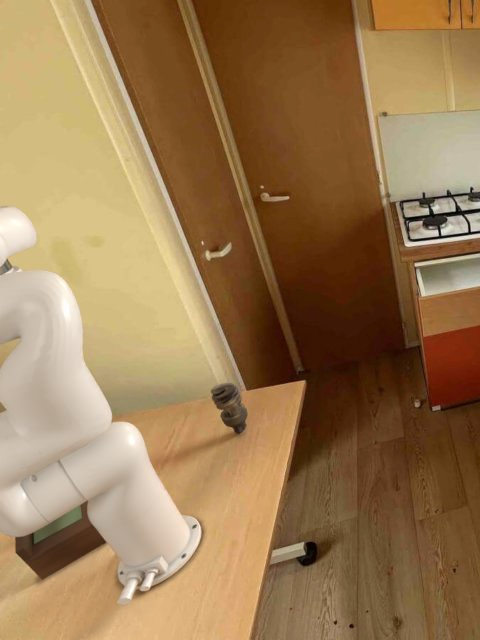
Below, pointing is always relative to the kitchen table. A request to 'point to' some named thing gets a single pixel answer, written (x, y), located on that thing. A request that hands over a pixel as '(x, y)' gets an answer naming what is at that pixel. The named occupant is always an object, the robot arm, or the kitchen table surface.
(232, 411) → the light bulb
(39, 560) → the brown piece
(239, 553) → the kitchen table surface
